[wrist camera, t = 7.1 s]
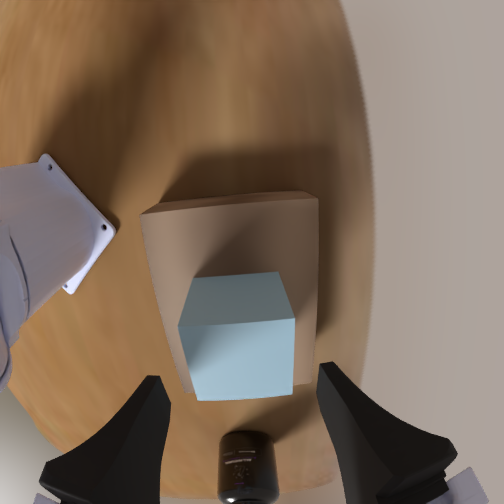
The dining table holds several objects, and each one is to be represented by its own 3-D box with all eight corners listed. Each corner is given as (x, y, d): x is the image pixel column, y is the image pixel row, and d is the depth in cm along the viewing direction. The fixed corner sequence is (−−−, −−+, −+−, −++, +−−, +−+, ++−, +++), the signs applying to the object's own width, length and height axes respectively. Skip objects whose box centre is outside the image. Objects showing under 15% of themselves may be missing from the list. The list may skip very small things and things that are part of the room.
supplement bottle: (238, 423, 26) (242, 515, 15) (284, 436, 28) (298, 517, 17) (208, 444, 28) (205, 524, 17) (251, 457, 30) (257, 529, 18)
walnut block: (190, 360, 23) (184, 392, 19) (158, 203, 18) (139, 214, 14) (301, 351, 23) (311, 382, 19) (301, 190, 18) (318, 198, 15)
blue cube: (204, 345, 17) (197, 400, 13) (192, 278, 16) (177, 326, 11) (279, 339, 18) (292, 394, 13) (278, 271, 16) (295, 318, 11)
